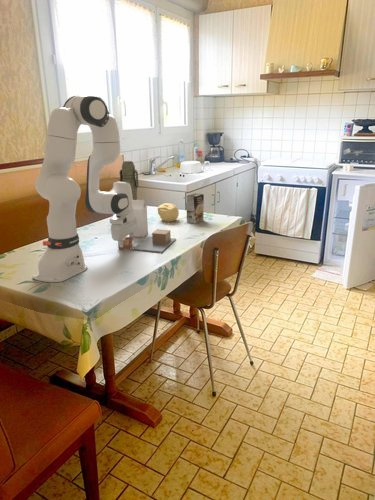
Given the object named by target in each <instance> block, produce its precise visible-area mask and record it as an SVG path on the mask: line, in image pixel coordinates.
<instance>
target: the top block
mask: <svg viewBox="0 0 375 500" xmlns="http://www.w3.org/2000/svg"><path fill="white" fill-rule="evenodd" d="M117 243H118V242H117ZM123 243H124V247H120V246H119V243H118V245H117V247H118V250H121V251H129V250H130V248H131V249H133V248H134V246H133V245H134V244H133V240H132V237H129V236H126V237H125V238H123Z"/></svg>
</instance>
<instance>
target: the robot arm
mask: <svg viewBox="0 0 375 500" xmlns="http://www.w3.org/2000/svg"><path fill="white" fill-rule="evenodd" d="M81 125H83V126H84V125H85V126H88V128H90V130H91V134H92V152H91V154H90V155H89V156H88V158H87V164H86V165H87V167H86V188H85V189H86V190H85V191H86V192H85V196H84V205H85V207H86V209H87V211H89V213H92V214H107V215H112V216H111V217H110V218H109V224H111V225H110V232H111V238H112V240H113V241H116V242H117V243H119V246H120V247H124V243H123V238H125V237H132V241H133V240H134V237H133V235H134V231H135V230H137V228H138V224H137V218H136V216H135V213H134V211H133V206H132V201H133V197H132V190H131V186H130V184H129V183H128V182H120V181H114V182H113V185H112V188H111V189H110V190H109V191H101V190H100V181H101V180H100V176H101V171H102V169H103V168H104V167H106V166H108V165H110V164H113V163H114V162H115V161H117V160H118V158H119V157H120V154H121V142H120V141H121V140H120V133H119V127H118V124H117V119H116V118H115V117H114V116H113V115H112V114H110V112H109V110H108V106H107V104H106V102H105V100H104V99H102V98H101V97H100V96H98V95H94V94H78V95H74V96H70V97H69V98H68V99H66V101H65V102H64V104H63V106H62V107H57V108H54V109H53V110H52V111H51V112H50V116H49V120H48V125H47V129H46V138H45V139H46V141H45V152H44V158H43V160H42V161H43V162H42V165H41V167H40V168H41V169H40V171H39V175H38V176H37V177H36V179H35V182H34V187H35V190H36V192H37V194H39V195H40V197H41V198H42V199H45V200H46V201H47V200H48V203H49V207H48V208H49V209H48V215H47V216H46V225H47V231H48V237H47V240H43V241H42V246H44V247H45V246H46V247H47V248H46V249H45V251H44V253H43V255H42V256H41V258H40V259H39V261H38V265H37V269H38V270H37V272H35V273H34V274H33V275H32V278H33V279H34V280H35V281H39V282H45V283H46V282H47V283H60V282H64V281H66V280H68V279H70V278H73V277H74V276H76V275H78V274H80V273H82V272H84V271H86V270H88V266H87V265H86V263H85V258H84V254H83V250H82V248H81V246H80V244H79V243H80V236H79V233H78V229H77V220H76V219H77V218H76V212H77V204H78V201H79V200H80V198H81V193H82V189H81V186H80V185H79V183H78V182H76V180H74V179H73V178H72V177H70V176H69V172H70V169H71V167H72V165H73V164H74V163H75V160H76V151H77V143H78V132H79V129H80V127H81Z"/></svg>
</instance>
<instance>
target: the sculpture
mask: <svg viewBox="0 0 375 500" xmlns="http://www.w3.org/2000/svg"><path fill="white" fill-rule="evenodd" d="M179 213H180V212H179V209H178V207H177V206H176V204H174V203H170V202H168V203H167V202H165V203H162V204H160V205H158V206H157V214H158V216H159V217H160V219H161V220H162V222H167V223H171V222H174V221H176V220H177V219H179V215H180V214H179Z"/></svg>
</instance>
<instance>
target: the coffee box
mask: <svg viewBox="0 0 375 500" xmlns="http://www.w3.org/2000/svg"><path fill="white" fill-rule="evenodd" d="M204 196H205V195H204V193H203V194H202V193H192V194H189V195H186V223H189V224H190V223H191V224H194V225H196V224H198V223H201V222H203V221H204V214H205V212H204V211H205V209H204V208H205V207H204V206H205V205H204V198H205V197H204Z"/></svg>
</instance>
